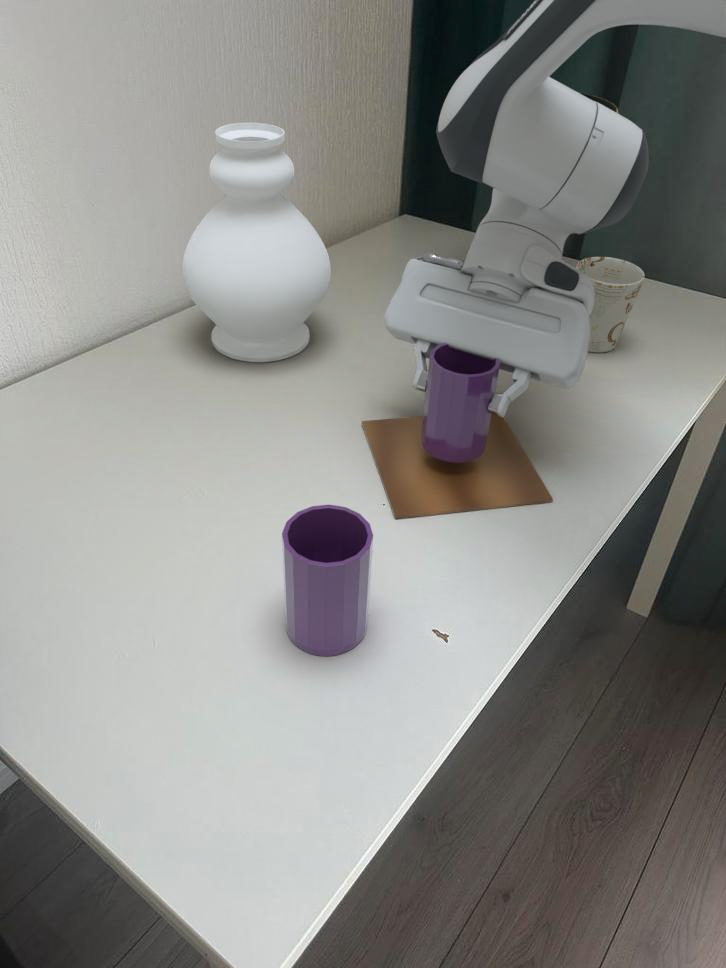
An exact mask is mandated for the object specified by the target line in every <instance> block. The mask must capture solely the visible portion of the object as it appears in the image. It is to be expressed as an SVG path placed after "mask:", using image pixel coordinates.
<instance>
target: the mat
mask: <svg viewBox="0 0 726 968" xmlns="http://www.w3.org/2000/svg"><path fill="white" fill-rule="evenodd" d="M422 425H423V415H419V416H417V415H416V416H406V417H395V418H393V417H392V418H383V419H372V420H371V419H370V420H362V421H361V427H362V429H363V432H364V436H365V438H366V440H367V444H368V446H369V449H370V452H371V455H372V458H373V460H374V461H373V462H374V463H375V467H376V469H377V472H378V475H379V477H380V480H381V481H380V482H381V483H382V486H383V488H384V491H385V494H386V498H387V500H388V504H389V506H390V509H391V512H392V515H393V518H394V520H398V519H399V520H400V519H408V518H409V519H410V518H418V517H426V516H435V515H436V516H437V515H445V514H454V513H463V512H474V511H481V510H492V509H501V508H509V507H510V508H511V507H520V506H528V505H529V506H530V505H537V504H547V503H553V501H554V498H553V496H552V495H551V493H550V492H549V490H548V488H547V486H546V485H545V483H544V481H543V480H542V478H541V476H540V475H539V473H538V471H537V470H536V469H535V466H534V465H533V463H532V461H531V460H530V458H529V457H528V455H527V454H526V452H525V449H524V448H523V447H522V445H521V444H520V442H519V440H518V439H517V436H516V435H515V434H514V432H513V430H512V429H511V427H510V425H509V424H508V422H507V420H506V419H505V416H504V417H500V416H497V415H494V414H491V419H490V425H489V431H488V436H487V442H486V447H485V450H484V452H483V454H482V455H481V456H480V457H478V458H477V459H474V460H472V461H468V462H461V463H454V462H447V461H443V460H440V459H437V458H435V457H433V456H431V455H430V454H429V453H427V452H426V451H425V449H424V448H423V446H422V443H421V434H422Z"/></svg>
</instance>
